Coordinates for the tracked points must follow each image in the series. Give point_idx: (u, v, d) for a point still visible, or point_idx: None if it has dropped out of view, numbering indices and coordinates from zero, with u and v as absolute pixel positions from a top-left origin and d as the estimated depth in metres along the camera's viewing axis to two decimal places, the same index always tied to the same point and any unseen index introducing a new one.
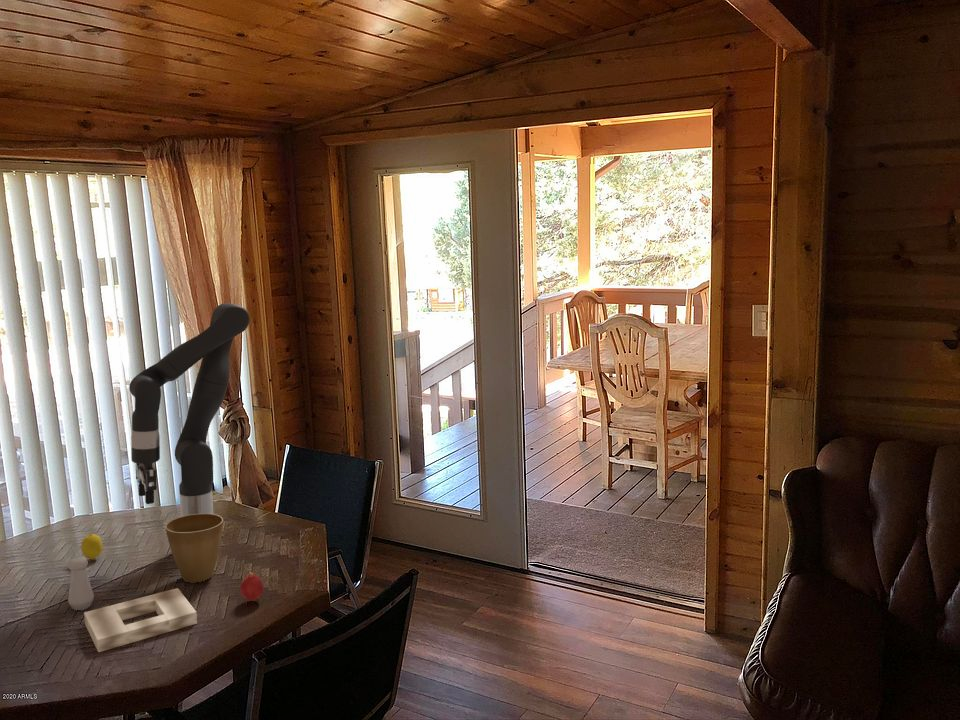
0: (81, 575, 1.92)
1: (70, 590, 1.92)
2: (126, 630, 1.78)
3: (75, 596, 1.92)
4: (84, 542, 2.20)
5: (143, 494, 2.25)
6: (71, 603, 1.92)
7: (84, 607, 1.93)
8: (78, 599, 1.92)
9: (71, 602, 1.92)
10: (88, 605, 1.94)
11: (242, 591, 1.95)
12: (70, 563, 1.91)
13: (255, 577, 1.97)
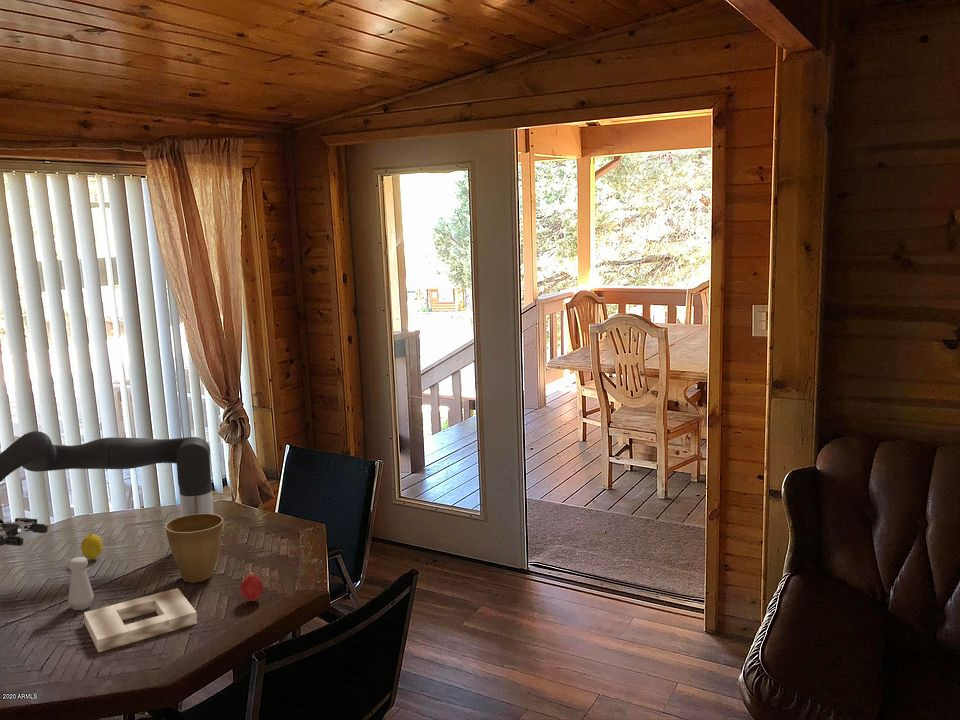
0: (81, 575, 1.92)
1: (70, 590, 1.92)
2: (126, 630, 1.78)
3: (75, 596, 1.92)
4: (84, 542, 2.20)
5: (44, 528, 1.97)
6: (71, 603, 1.92)
7: (84, 607, 1.93)
8: (78, 599, 1.92)
9: (71, 602, 1.92)
10: (88, 605, 1.94)
11: (242, 591, 1.95)
12: (70, 563, 1.91)
13: (255, 577, 1.97)
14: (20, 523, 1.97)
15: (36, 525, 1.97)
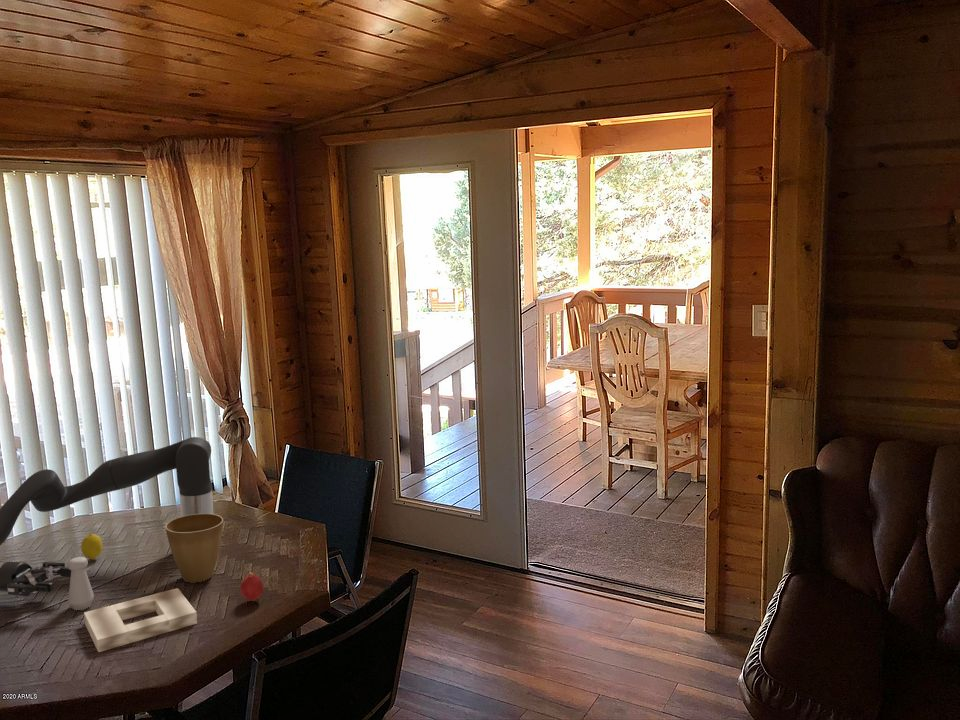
0: (81, 575, 1.92)
1: (70, 590, 1.92)
2: (126, 630, 1.78)
3: (75, 596, 1.92)
4: (84, 542, 2.20)
5: None
6: (71, 603, 1.92)
7: (84, 607, 1.93)
8: (78, 599, 1.92)
9: (71, 602, 1.92)
10: (88, 605, 1.94)
11: (242, 591, 1.95)
12: (70, 563, 1.91)
13: (255, 577, 1.97)
14: (48, 568, 1.98)
15: (64, 569, 1.99)
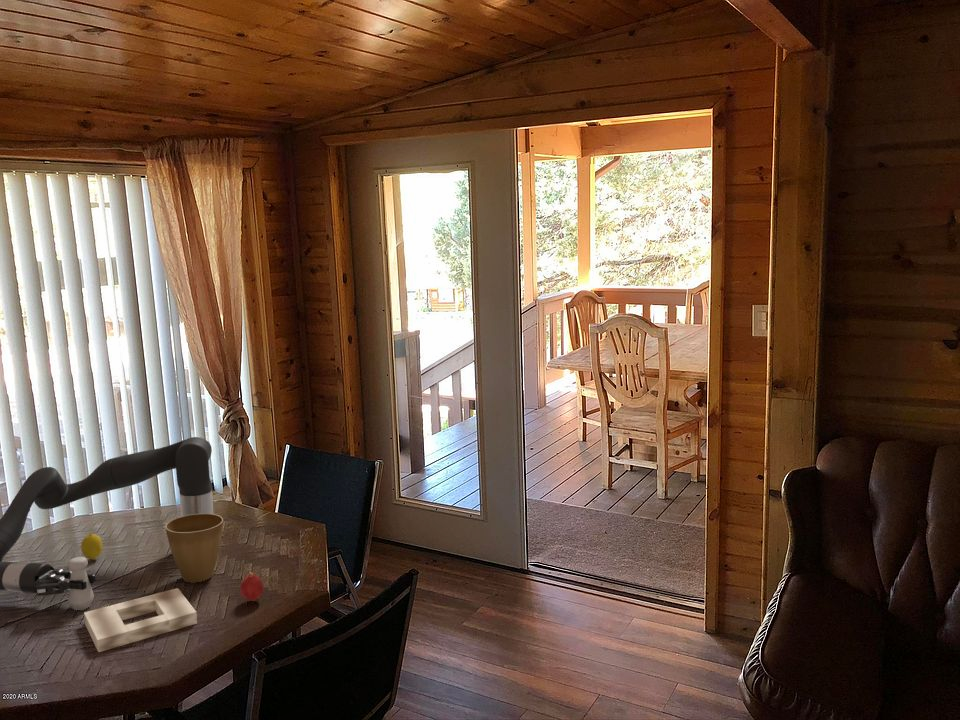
0: (81, 575, 1.92)
1: (70, 590, 1.92)
2: (126, 630, 1.78)
3: (75, 596, 1.92)
4: (84, 542, 2.20)
5: (92, 579, 1.95)
6: (71, 603, 1.92)
7: (84, 607, 1.93)
8: (78, 599, 1.92)
9: (70, 602, 1.92)
10: (88, 605, 1.94)
11: (242, 591, 1.95)
12: (70, 563, 1.91)
13: (255, 577, 1.97)
14: (68, 572, 1.95)
15: None
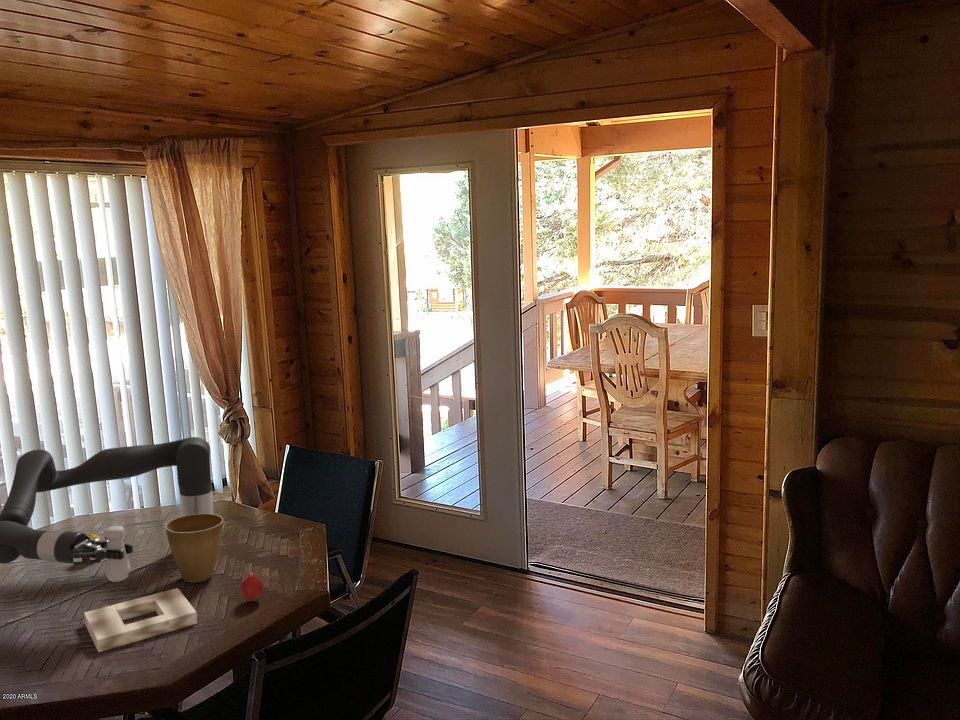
0: (118, 544, 1.85)
1: (107, 560, 1.85)
2: (126, 630, 1.78)
3: (112, 566, 1.84)
4: None
5: (129, 549, 1.87)
6: (107, 573, 1.84)
7: (121, 578, 1.86)
8: (115, 569, 1.84)
9: (107, 572, 1.84)
10: (125, 576, 1.86)
11: (242, 591, 1.95)
12: (107, 532, 1.84)
13: (255, 577, 1.97)
14: (105, 541, 1.88)
15: None
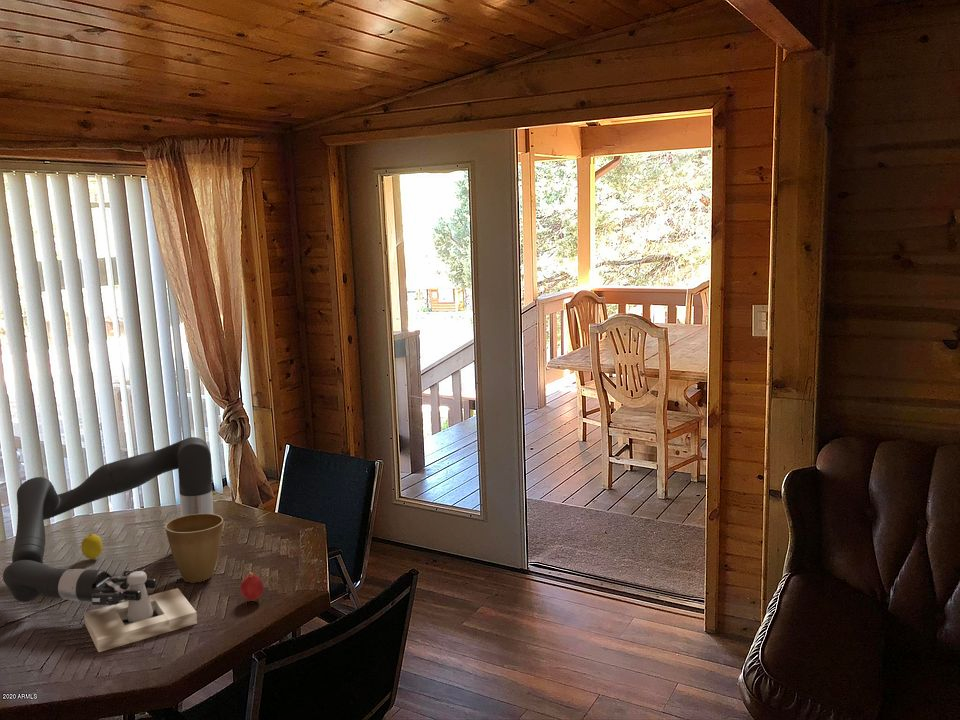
0: (140, 590, 1.84)
1: (129, 606, 1.84)
2: (126, 630, 1.78)
3: (135, 612, 1.83)
4: (84, 542, 2.20)
5: (153, 584, 1.88)
6: (130, 620, 1.84)
7: None
8: (138, 616, 1.84)
9: (130, 619, 1.84)
10: None
11: (242, 591, 1.95)
12: (129, 578, 1.83)
13: (255, 577, 1.97)
14: None
15: None
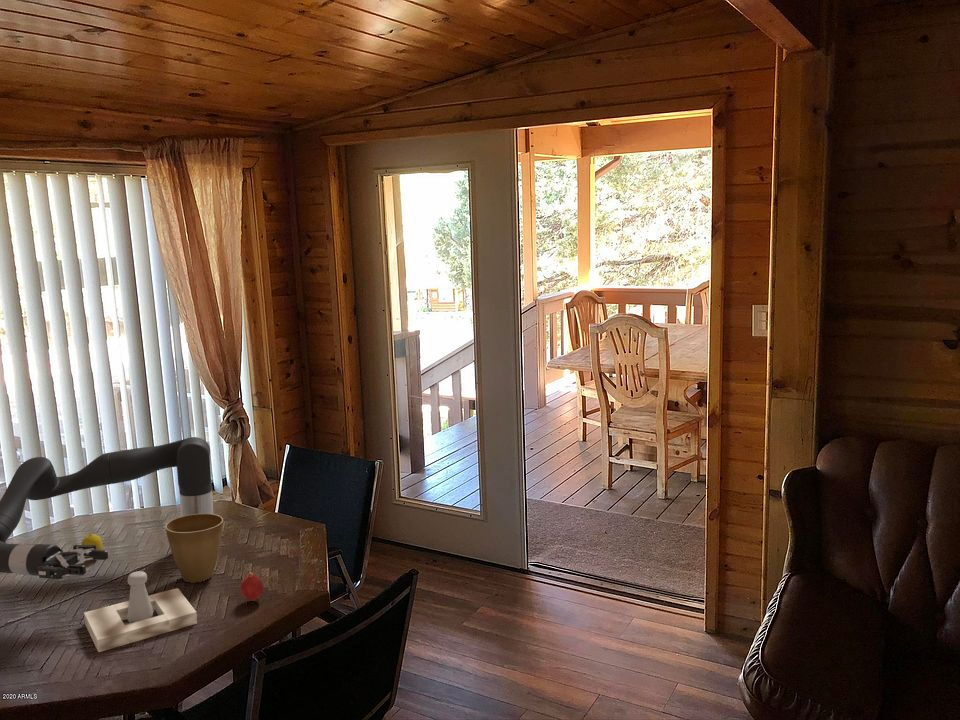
0: (140, 590, 1.84)
1: (129, 606, 1.84)
2: (126, 630, 1.78)
3: (135, 612, 1.83)
4: (84, 542, 2.20)
5: (104, 555, 1.90)
6: (130, 620, 1.84)
7: None
8: (138, 616, 1.84)
9: (130, 619, 1.84)
10: None
11: (242, 591, 1.95)
12: (130, 578, 1.83)
13: (255, 577, 1.97)
14: (79, 550, 1.89)
15: (96, 552, 1.90)
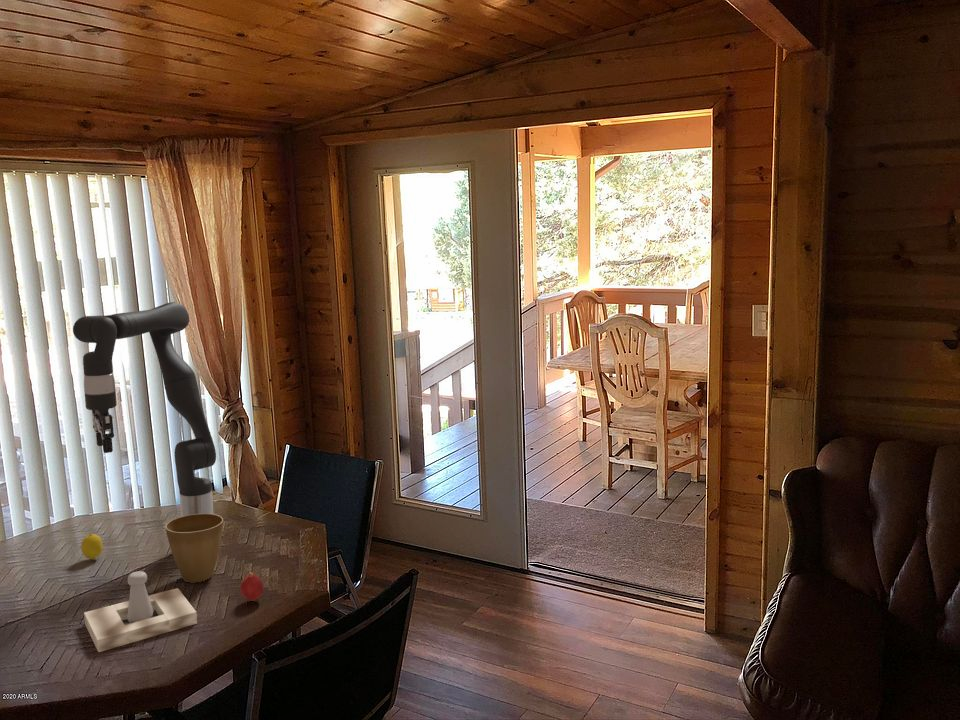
0: (140, 590, 1.84)
1: (129, 606, 1.84)
2: (126, 630, 1.78)
3: (135, 612, 1.83)
4: (84, 542, 2.20)
5: (102, 444, 2.11)
6: (130, 620, 1.84)
7: None
8: (138, 616, 1.84)
9: (130, 619, 1.84)
10: None
11: (242, 591, 1.95)
12: (130, 578, 1.83)
13: (255, 577, 1.97)
14: None
15: None
